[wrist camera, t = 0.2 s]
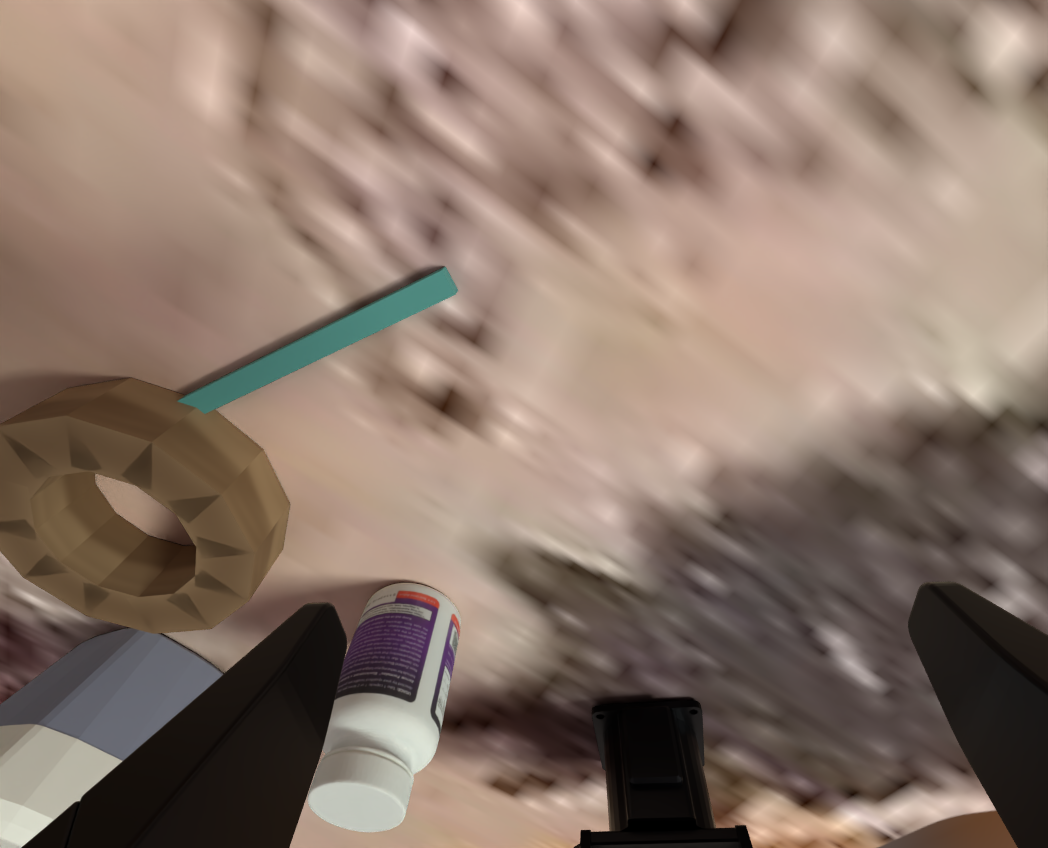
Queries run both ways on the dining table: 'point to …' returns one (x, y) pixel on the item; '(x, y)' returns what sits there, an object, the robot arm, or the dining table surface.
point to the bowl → (88, 722)
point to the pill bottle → (387, 708)
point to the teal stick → (325, 341)
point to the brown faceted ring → (160, 471)
